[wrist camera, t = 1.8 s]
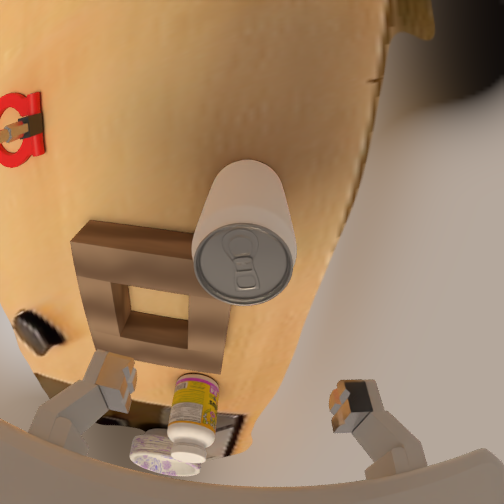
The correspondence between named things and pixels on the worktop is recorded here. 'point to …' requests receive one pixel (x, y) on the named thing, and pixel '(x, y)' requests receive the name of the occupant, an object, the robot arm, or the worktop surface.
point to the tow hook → (22, 128)
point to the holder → (150, 277)
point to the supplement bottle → (193, 417)
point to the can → (244, 236)
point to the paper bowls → (159, 454)
